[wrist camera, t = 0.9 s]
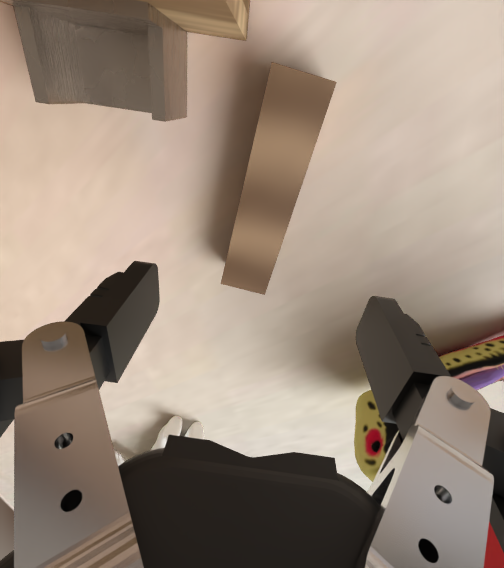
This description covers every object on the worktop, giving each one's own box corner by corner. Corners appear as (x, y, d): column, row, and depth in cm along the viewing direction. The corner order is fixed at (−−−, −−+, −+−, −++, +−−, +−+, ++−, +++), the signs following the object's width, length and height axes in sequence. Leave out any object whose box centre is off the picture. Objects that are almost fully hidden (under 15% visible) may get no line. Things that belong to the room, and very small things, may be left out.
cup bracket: (186, 117, 22) (153, 123, 16) (81, 101, 22) (10, 102, 16) (186, 31, 19) (147, 2, 14) (67, 13, 19) (-24, -24, 13)
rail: (272, 68, 20) (271, 61, 17) (326, 84, 21) (336, 82, 17) (227, 262, 29) (220, 283, 26) (266, 272, 29) (264, 294, 26)
